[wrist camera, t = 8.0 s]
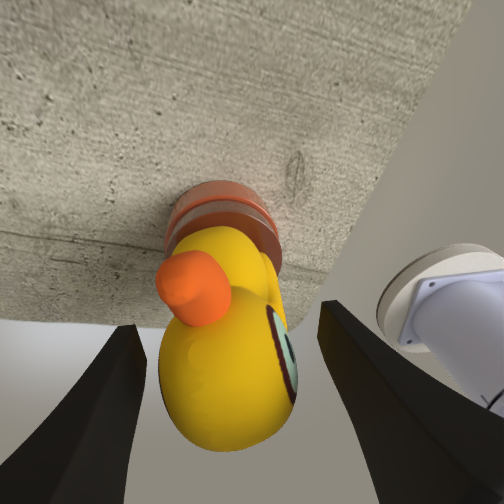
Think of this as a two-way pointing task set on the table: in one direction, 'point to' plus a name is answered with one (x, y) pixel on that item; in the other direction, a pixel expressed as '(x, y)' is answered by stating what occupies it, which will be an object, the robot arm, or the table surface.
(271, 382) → the duckling
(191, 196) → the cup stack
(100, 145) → the table surface
